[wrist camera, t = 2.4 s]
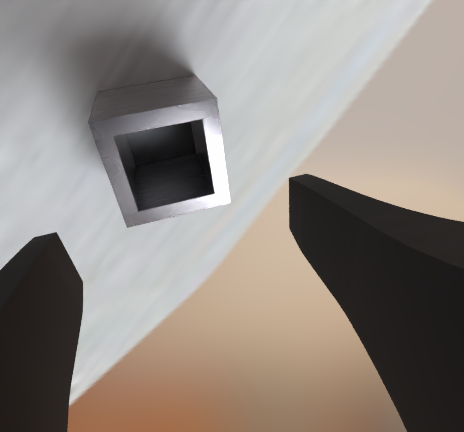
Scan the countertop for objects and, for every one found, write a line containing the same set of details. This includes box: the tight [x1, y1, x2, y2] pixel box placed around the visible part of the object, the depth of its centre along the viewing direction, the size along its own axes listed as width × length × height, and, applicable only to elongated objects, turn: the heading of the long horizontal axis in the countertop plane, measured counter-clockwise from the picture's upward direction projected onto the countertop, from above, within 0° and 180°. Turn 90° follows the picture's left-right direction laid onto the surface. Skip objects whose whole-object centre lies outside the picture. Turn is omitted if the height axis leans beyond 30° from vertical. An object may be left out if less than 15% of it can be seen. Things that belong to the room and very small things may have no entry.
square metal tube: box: [88, 75, 231, 228], centre depth 16 cm, size 5×5×5 cm
